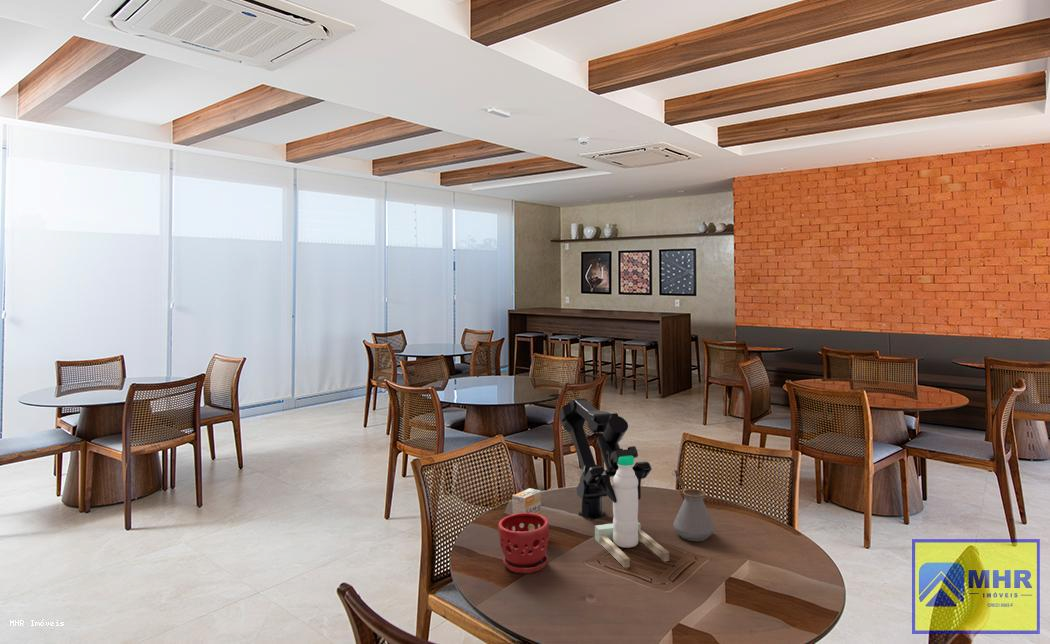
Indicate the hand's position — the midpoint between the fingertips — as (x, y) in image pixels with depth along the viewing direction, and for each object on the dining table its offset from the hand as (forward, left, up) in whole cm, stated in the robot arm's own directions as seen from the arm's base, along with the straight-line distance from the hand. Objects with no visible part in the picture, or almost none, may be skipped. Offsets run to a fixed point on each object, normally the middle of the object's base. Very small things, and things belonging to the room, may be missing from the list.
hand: (627, 500), depth 166 cm
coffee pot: (-23, +6, -14) cm, 27 cm away
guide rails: (+2, +3, -13) cm, 14 cm away
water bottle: (-1, -1, -13) cm, 13 cm away
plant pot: (+27, -14, -14) cm, 33 cm away
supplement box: (+13, -26, -14) cm, 32 cm away
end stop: (-3, -6, -13) cm, 15 cm away
